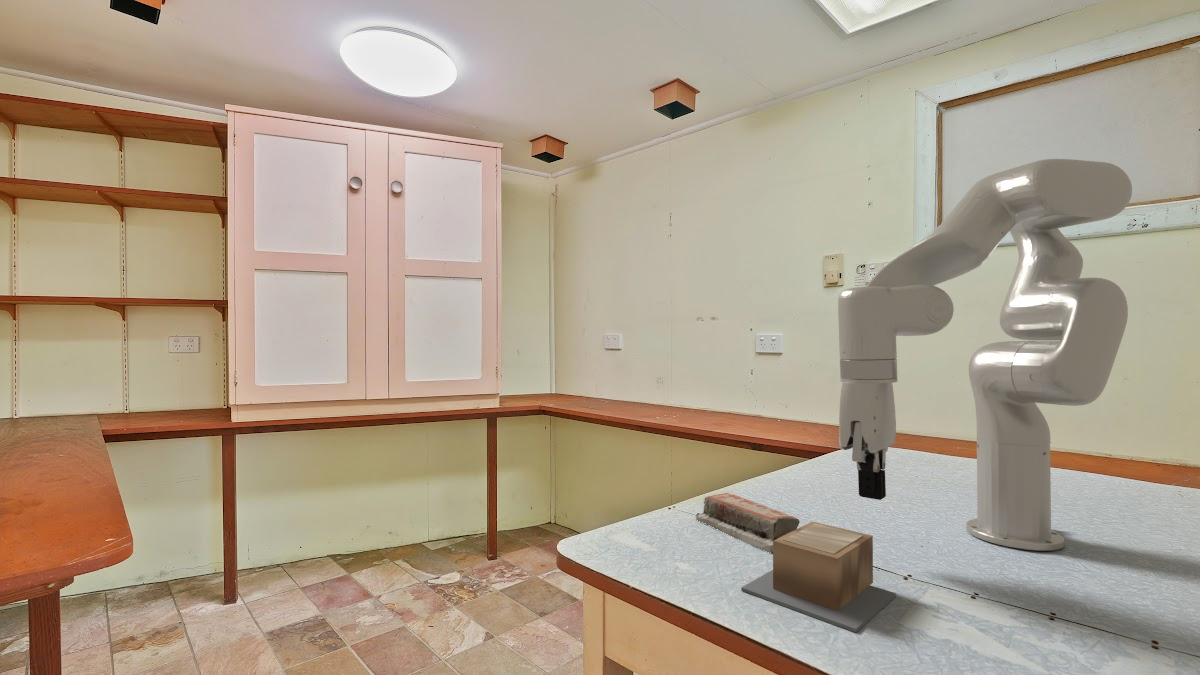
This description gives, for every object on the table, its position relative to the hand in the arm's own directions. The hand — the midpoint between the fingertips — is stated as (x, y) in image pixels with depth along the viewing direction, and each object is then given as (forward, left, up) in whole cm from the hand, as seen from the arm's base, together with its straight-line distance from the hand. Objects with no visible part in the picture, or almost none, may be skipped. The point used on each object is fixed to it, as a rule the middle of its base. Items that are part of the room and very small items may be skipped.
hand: (872, 496), depth 80 cm
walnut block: (+10, 0, -5) cm, 11 cm away
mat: (+17, 0, -9) cm, 19 cm away
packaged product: (+2, -19, -10) cm, 21 cm away
